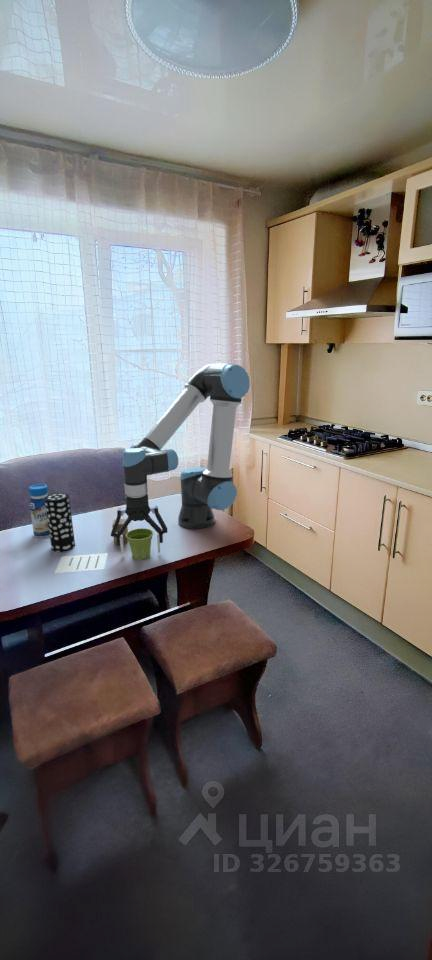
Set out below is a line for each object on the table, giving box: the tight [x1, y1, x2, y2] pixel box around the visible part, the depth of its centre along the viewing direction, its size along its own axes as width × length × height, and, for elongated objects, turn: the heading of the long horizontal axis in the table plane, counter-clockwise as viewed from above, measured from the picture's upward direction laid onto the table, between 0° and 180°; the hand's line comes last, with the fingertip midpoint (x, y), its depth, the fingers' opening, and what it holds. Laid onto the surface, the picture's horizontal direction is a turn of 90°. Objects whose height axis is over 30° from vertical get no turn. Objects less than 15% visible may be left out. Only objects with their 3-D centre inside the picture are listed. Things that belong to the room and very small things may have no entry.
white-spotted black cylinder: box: [44, 492, 76, 553], centre depth 159 cm, size 8×8×20 cm
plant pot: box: [126, 527, 154, 561], centre depth 152 cm, size 9×9×9 cm
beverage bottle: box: [28, 483, 50, 539], centre depth 171 cm, size 8×8×20 cm
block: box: [111, 518, 129, 545], centre depth 165 cm, size 5×5×8 cm
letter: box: [54, 552, 109, 574], centre depth 149 cm, size 16×12×1 cm
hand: (140, 552), depth 153 cm, fingers open, 12 cm apart
